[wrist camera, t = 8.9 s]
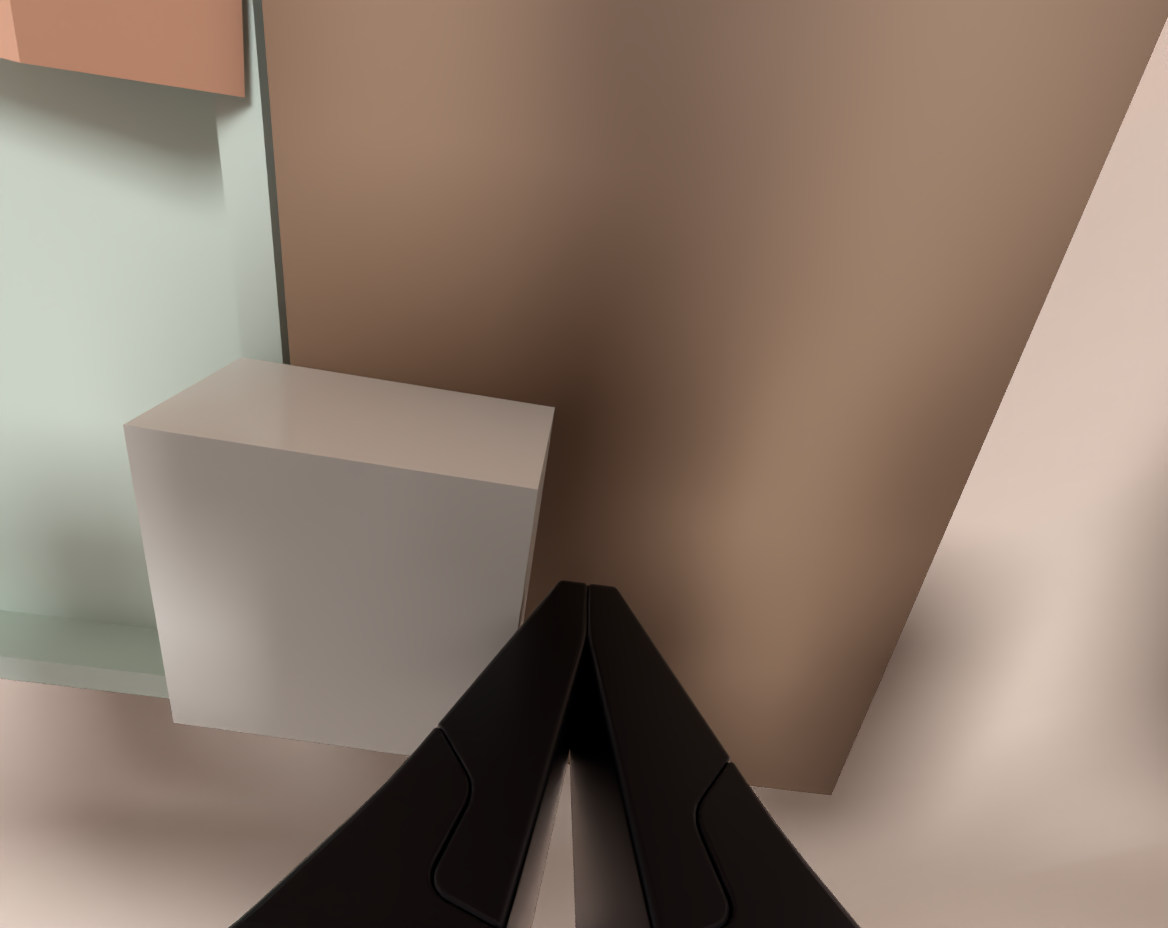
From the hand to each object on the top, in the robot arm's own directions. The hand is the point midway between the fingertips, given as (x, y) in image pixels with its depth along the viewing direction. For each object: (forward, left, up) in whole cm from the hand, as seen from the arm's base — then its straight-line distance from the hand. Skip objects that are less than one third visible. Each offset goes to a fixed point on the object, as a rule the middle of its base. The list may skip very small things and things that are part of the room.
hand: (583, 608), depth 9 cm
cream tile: (+3, 0, -1) cm, 3 cm away
